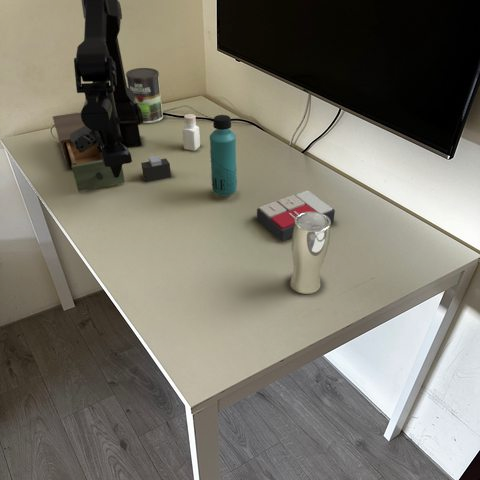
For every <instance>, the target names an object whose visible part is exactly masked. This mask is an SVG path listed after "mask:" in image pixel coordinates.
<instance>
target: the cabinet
mask: <svg viewBox="0 0 480 480" xmlns="http://www.w3.org/2000/svg"><path fill="white" fill-rule="evenodd" d="M52 120H53V124H54V128H55V131H56V135H57V139H58V142H59V145H60V149H61V151H62V154H63V157H64V160H65V163H66V167H67V169H68V170H72V166H71V165H72V164H71V161H70V157H69V153H68V150H67V146H66V142H70V141H71V139H70V134H71V133H72V132H74V131H76V130H78V129H80V128H81V127H83V126H85V125H84V123H83V122H82V119H81V111H79V112H73V113H67V114H66V113H65V114H58V115H53V116H52Z"/></svg>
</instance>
